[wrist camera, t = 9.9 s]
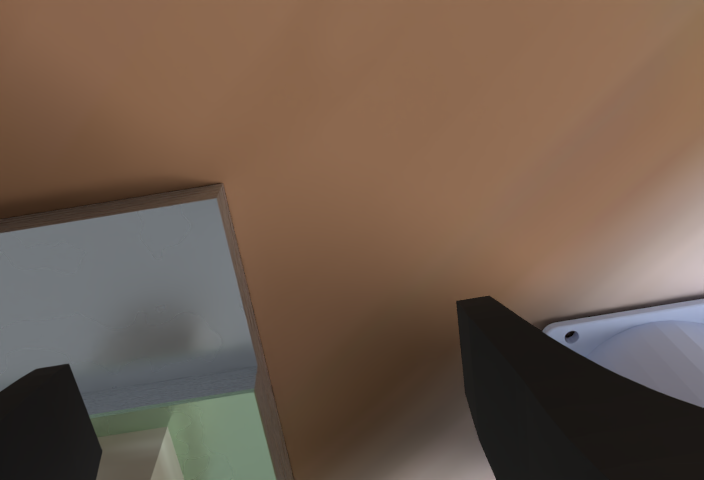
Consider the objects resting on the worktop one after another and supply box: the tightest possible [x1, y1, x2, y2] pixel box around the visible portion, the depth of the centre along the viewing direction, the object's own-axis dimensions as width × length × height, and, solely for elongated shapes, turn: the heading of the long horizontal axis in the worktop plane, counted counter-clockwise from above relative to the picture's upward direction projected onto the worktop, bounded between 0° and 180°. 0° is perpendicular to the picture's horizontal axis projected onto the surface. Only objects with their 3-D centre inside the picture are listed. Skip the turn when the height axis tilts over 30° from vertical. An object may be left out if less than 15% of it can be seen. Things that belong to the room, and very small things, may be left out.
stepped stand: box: [0, 183, 294, 480], centre depth 22 cm, size 10×18×4 cm, turn 8°
